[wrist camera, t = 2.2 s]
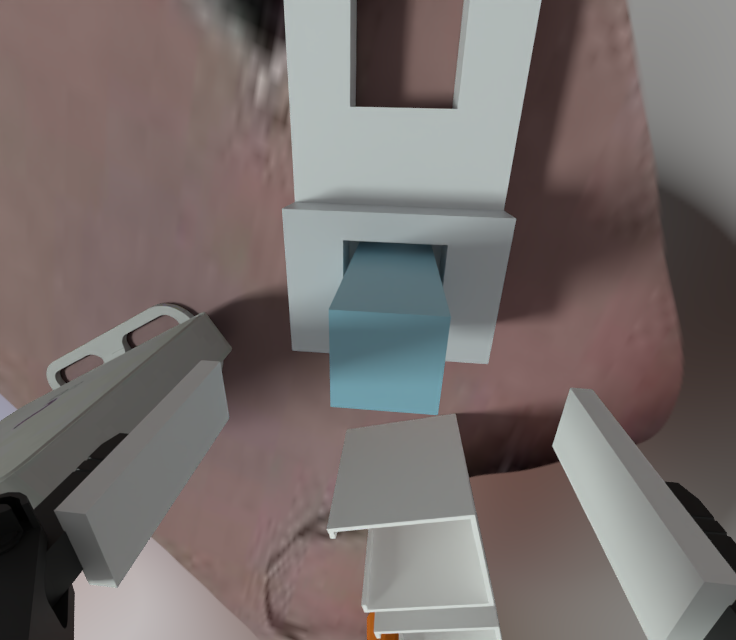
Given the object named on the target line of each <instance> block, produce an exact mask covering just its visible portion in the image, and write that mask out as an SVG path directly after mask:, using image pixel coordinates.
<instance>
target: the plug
mask: <svg viewBox="0 0 736 640" xmlns="http://www.w3.org/2000/svg"><path fill="white" fill-rule="evenodd" d="M450 321H451V315H450V311H449V308H448V304H447V300H446V297H445V293H444V289H443V286H442V282H441V278H440V275H439V271H438V268H437V264H436V260H435V257H434V253H433V249H432V246H431V245H424V244H403V243H382V242H361V241H360V242H359V244H358V247H357V249H356V251H355V253H354V255H353V257H352V260H351V262H350V264H349V266H348V268H347V270H346V273H345V275H344V277H343V279H342V281H341V284H340V286H339V288H338V290H337V292H336V294H335V297H334V299H333V301H332V303H331V305H330V307H329V354H330V400H331V407H341V408H354V409H367V410H379V411H392V412H405V413H418V414H431V415H438V410H439V402H440V395H441V387H442V380H443V373H444V365H445V358H446V351H447V343H448V336H449V329H450Z"/></svg>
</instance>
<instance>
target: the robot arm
mask: <svg viewBox="0 0 736 640" xmlns="http://www.w3.org/2000/svg"><path fill="white" fill-rule="evenodd" d="M228 419H229V412H228V406H227V400H226V394H225V388H224V382H223V376H222V370H221V364H220V362H219V361H206V360H201V361H200V362H199V363H198V364H197V365H196V366H195V367H194V368H193V369H192V370H191V371H190V372H189V373H188V374H187V375H186V376H185V377H184V378H183V379H182V380H181V381H180V382H179V383H178V384H177V385H176V386H175V387H174V388H173V389H172V390H171V391H170V393H169V394H168V395H167V396H166V397H165V398H164V399H163V400H162V401H161V402H160V403H159V404H158V405H157V406H156V407H155V408H154V409H153V410H152V411H151V412H150V413H149V414H148V415H147V416H146V417H145V418H144V419H143V420H142V421H141V422H140V423H139V424H138V425H137V426H136V427H135V428H134V429H133V430H132V431H131V432H130V433H129V434H127V433H119V434H117V435H116V436H114V437H112V438H111V439H109V440H107V441H106V442H104V443H102V444H101V445H100V446H99V447H98V448H97V449H96V450H95V451H94V452H93V453H92V454H91V455H90V456H89V457H88V459H87V460H84V461H83V462H82V463H81V464H80V465H79V466H78V467H77V468H76V471H75V472H72V473H71V474H70V475H69V476H68V477H67V478H66V479H65V480H64V481H63V482H62V483H61V484H60V485H58V486H57V487H56V488H55V489H54V490H53V491H52V492H51V493H50V494H49V495H48V496H47V497H46V498H45V499H44V500H43V501H42V502H41V503H40V504H39V505H38V506H37V507H36V508H35V509H33V507H32V505H31V503H30V501H29V499H28V497H27V496H26V495H24V494H22V493H20V492H7V493H3V494H0V640H74V597H75V595H74V594H75V593H74V589H73V586H72V583H73V582H74V581H75V579H76V578H77V577H78V575H79V574H80V573H81V571H82V570H83V572H84V574H85V576H86V579H87V581H88V583H89V584H91V585H99V586H107V587H115V588H117V587H118V586H119V584H120V583H121V581H122V580H123V578H124V577H125V575H126V574H127V572H128V571H129V569H130V568H131V566H132V565H133V563H134V562H135V560H136V559H137V557H138V556H139V554H140V552H141V551H142V550H143V548H144V547H145V545H146V544H147V542H148V540H149V539H150V537H151V536H152V534H153V533H154V531H155V530H156V528H157V527H158V525H159V524H160V522H161V521H162V519H163V518H164V516H165V515H166V513H167V512H168V510H169V509H170V507H171V506H172V504H173V503H174V501H175V500H176V498H177V497H178V495H179V494H180V492H181V491H182V489H183V488H184V486H185V485H186V483H187V481H188V480H189V478H190V477H191V475H192V474H193V472H194V471H195V469H196V468H197V466H198V465H199V463H200V462H201V460H202V459H203V457H204V456H205V454H206V453H207V451H208V450H209V448H210V447H211V445H212V444H213V442H214V441H215V439H216V438H217V436H218V435H219V433H220V432H221V430H222V429H223V427H224V426H225V424H226V422H227V421H228ZM552 446H553V448H554V451H555V453H556V455H557V457H558V459H559V461H560V463H561V465H562V467H563V469H564V471H565V473H566V475H567V477H568V479H569V481H570V483H571V485H572V487H573V489H574V491H575V493H576V495H577V497H578V499H579V501H580V503H581V505H582V507H583V509H584V511H585V513H586V515H587V517H588V519H589V521H590V523H591V525H592V527H593V529H594V531H595V533H596V535H597V537H598V539H599V541H600V543H601V546H602V548H603V550H604V552H605V554H606V556H607V558H608V559H609V562H610V564H611V566H612V568H613V570H614V572H615V574H616V576H617V578H618V580H619V582H620V584H621V586H622V588H623V590H624V592H625V594H626V596H627V598H628V600H629V602H630V604H631V606H632V608H633V610H634V612H635V614H636V616H637V618H638V620H639V622H640V624H641V626H642V628H643V630H644V633H645V634H646V637H647V639H648V640H736V543H735V542H734V541H733V540H732V538H731V537H729V536H727V532H725V530H724V529H723V528H722V526H721V525H720V524H719V523H718V522H717V521H715V520H714V517H713V516H712V514H710V512H709V511H708V510H707V508H706V507H705V506H704V505H703V504H702V503H701V501H700V500H699V499H698V498H696V497H695V496H694V495H693V494H691V493H690V492H689V491H688V490H686V489H685V488H684V487H683V486H681V485H680V484H679V483H674V482H664V481H663V480H662V478H661V477H660V476H659V474H658V473H657V472H656V471H655V469H654V468H653V467H652V465H651V464H650V463H649V462H648V460H647V459H646V458H645V456H644V455H643V454H642V453H641V451H640V450H639V449H638V447H637V446H636V445H635V444H634V442H633V441H632V440H631V438H630V437H629V436H628V435H627V433H626V432H625V431H624V429H623V428H622V427H621V426H620V424H619V423H618V422H617V420H616V419H615V418H614V417H613V415H612V414H611V413H610V411H609V410H608V409H607V408H606V406H605V405H604V404H603V403H602V401H601V400H600V399H599V397H598V396H597V395H596V394H595V392H594V391H593V390H592V389H580V388H570V390H569V394H568V397H567V400H566V403H565V407H564V410H563V413H562V416H561V419H560V423H559V426H558V429H557V432H556V436H555V439H554V442H553V445H552Z"/></svg>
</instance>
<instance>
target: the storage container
mask: <svg viewBox="0 0 736 640" xmlns="http://www.w3.org/2000/svg"><path fill="white" fill-rule="evenodd" d="M360 529H368V539H367V550H366V561H365V572H364V582H363V593H362V604H361V605H362V607H363V610H364V612H375V618H374V634H375V636H376V638H377V639H378V638H381V634H392V633H399V640H502V635H501V630H500V625H499V620H498V615H497V611H496V605H495V600H494V595H493V590H492V585H491V580H490V575H489V570H488V565H487V561H486V556H485V551H484V547H483V542H482V537H481V533H480V527H479V523H478V518H477V513H476V510H475V504H474V499H473V494H472V490H471V485H470V480H469V475H468V470H467V466H466V461H465V456H464V451H463V447H462V442H461V437H460V432H459V428H458V423H457V418H456V413H455V414H449V415H442V416H435V417H428V418H422V419H415V420H408V421H402V422H395V423H388V424H382V425H375V426H368V427H362V428H355V429H348V430H347V431H346V436H345V441H344V446H343V451H342V456H341V461H340V466H339V470H338V475H337V480H336V485H335V490H334V495H333V500H332V505H331V510H330V515H329V520H328V525H327V531H328V533H329V535H330V538H331V539H334V538H336V535H337V532H339V531H349V530H360Z"/></svg>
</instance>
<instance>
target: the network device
mask: <svg viewBox="0 0 736 640" xmlns="http://www.w3.org/2000/svg"><path fill="white" fill-rule="evenodd" d="M161 315H169V316H171V317H173V318H175V319H176V320H177V321H178V322H179V323H180V324H179V325H177V326H175V327H173V328H171V329H169V330H168V331H166V332H164V333H162V334H160V335H158V336H156V337H154V338H152V339H150V340H148V341H147V342H145V343H143V344H141V345H139V346H137V347H135V348H133V349H132V348H131V347H130V346H129V344H128V342H127V339H126V337H127V334H128V333H129V332H131V331H133V330H134V329H136V328H138V327H140V326H142V325H144V324H145V323H147V322H149V321H151V320H153V319H155V318H157V317H158V316H161ZM231 350H232V347H231V346H230V345H229V343H228V342H227V341H226V339H225V338H224V337H223V335H222V334H221V333H220V331H219V330H218V329H217V327H216V326H215V325H214V323H213V322H212V321H211V319H210V318H209V317H208V315H207V314H206V313H205V312H203V313H200V314H198V315H196V316H193V315H192V314H191V313H190V312H189V311H187V310H186V309H184V308H182V307H180V306H178V305H174V304H169V303H162V304H157V305H155V306H152V307H151V308H149V309H147V310H145V311H143V312H142V313H140V314H138V315H136V316H134V317H133V318H131V319H129V320H127V321H125V322H124V323H122V324H120V325H118V326H116V327H115V328H113V329H111V330H109V331H107V332H106V333H104V334H102V335H100V336H98V337H97V338H95V339H93V340H91V341H89V342H88V343H86V344H84V345H82V346H80V347H79V348H77V349H75V350H73V351H71V352H70V353H68V354H66V355H64V356H63V357H61V358H59V359H57V360H56V361H54V362H53V363H51V364H50V365H49V367H48V368H47V373H46V374H47V380H48V382H49V385H50V386H51V388H52V389H53V391H51V392H49V393H47V394H45V395H43V396H41V397H40V398H38V399H36V400H34V401H32V402H30V403H28V404H26V405H25V406H23V407H21V408H20V409H18V410H17V411H15V412H13V413H12V414H10V415H9V416H7V417H6V418H4V419H3V420H1V421H0V494H3V493H7V492H20V493H22V494H24V495H26V496H27V497H28V499H29V501H30V503H31V505H32V507H33V509H35V508H36V507H37V506H38V505H39V504H40V503H41V502H42V501H43V500H44V499H45V498H46V497H47V496H48V495H49V494H50V493H51V492H52V491H53V490H54V489H55V488H56V487H57V486H58V485H60V484H61V483H62V482H63V481H64V480H65V479H66V478H67V477H68V476H69V475H70V474H71V473H72V472H75V471H76V468H77V467H78V466H79V465H80V464H81V463H82V462H83V461H84V460H87V459H88V457H89V456H90V455H91V454H92V453H93V452H94V451H95V450H96V449H97V448H98V447H99V446H100V445H101V444H102V443H104V442H106V441H107V440H109V439H111V438H112V437H114V436H116V435H117V434H119V433H127V434H129V433H130V432H131V431H132V430H133V429H134V428H135V427H136V426H137V425H138V424H139V423H140V422H141V421H142V420H143V419H144V418H145V417H146V416H147V415H148V414H149V413H150V412H151V411H152V410H153V409H154V408H155V407H156V406H157V405H158V404H159V403H160V402H161V401H162V400H163V399H164V398H165V397H166V396H167V395H168V394H169V393H170V391H171V390H172V389H173V388H174V387H175V386H176V385H177V384H178V383H179V382H180V381H181V380H182V379H183V378H184V377H185V376H186V375H187V374H188V373H189V372H190V371H191V370H192V369H193V368H194V367H195V366H196V365H197V364H198V363H199V362H200V361H201V360H206V361H219V362H220V364H221V370H222V369H223V360H224V359H225V358H226V357H227V355H228V354H229V353H230V352H231ZM90 354H92V355H97V356H99V357H101V358H102V359H103V361H104V364H103V365H101V366H99V367H97V368H95V369H93V370H91V371H89V372H87V373H85V374H83V375H82V376H80V377H78V378H76V379H74V380H72V381H70V382H68V383H65V382H64V380H63V379H62V378H61V375H60V371H61V369H63V368H64V367H66V366H68V365H70V364H72V363H74V362H75V361H77V360H79V359H81V358H83V357H85V356H87V355H90Z"/></svg>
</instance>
